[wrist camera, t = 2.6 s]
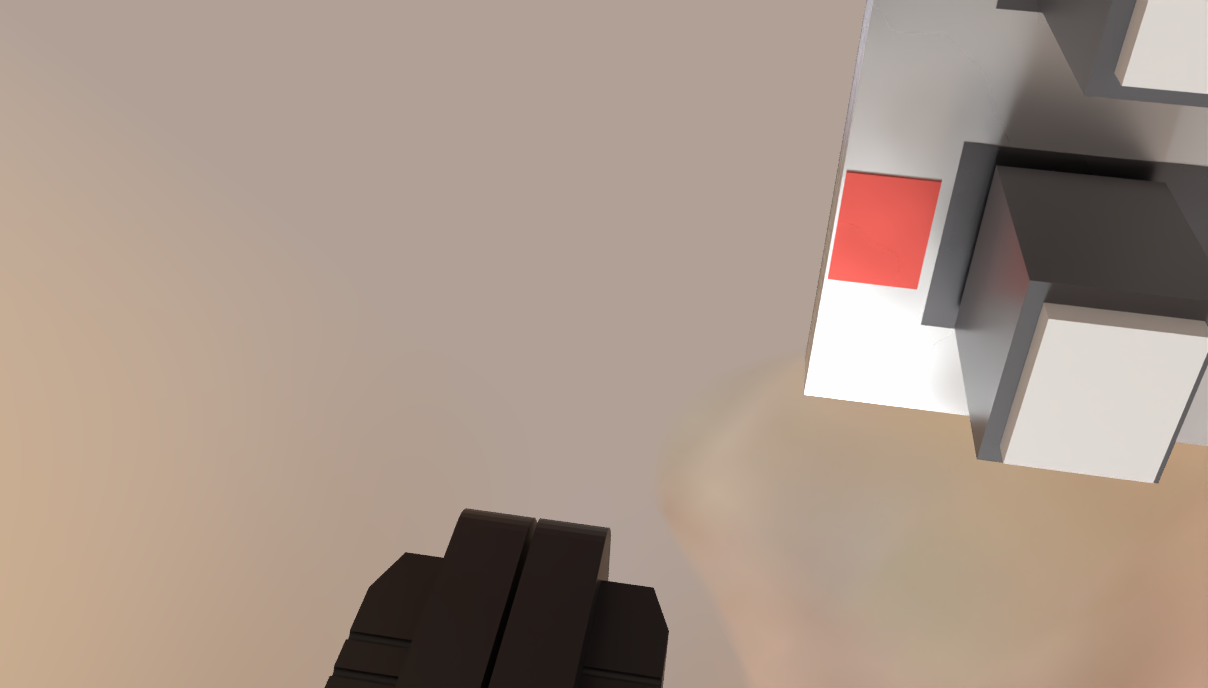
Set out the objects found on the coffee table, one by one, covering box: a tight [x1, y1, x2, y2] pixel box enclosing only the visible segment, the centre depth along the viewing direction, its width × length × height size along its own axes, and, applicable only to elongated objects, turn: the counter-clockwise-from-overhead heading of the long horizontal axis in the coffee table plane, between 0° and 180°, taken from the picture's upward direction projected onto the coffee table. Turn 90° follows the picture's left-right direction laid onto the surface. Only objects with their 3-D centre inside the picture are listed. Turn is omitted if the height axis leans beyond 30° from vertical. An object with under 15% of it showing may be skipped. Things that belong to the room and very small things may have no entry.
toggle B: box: [954, 165, 1208, 483], centre depth 16 cm, size 2×3×4 cm
